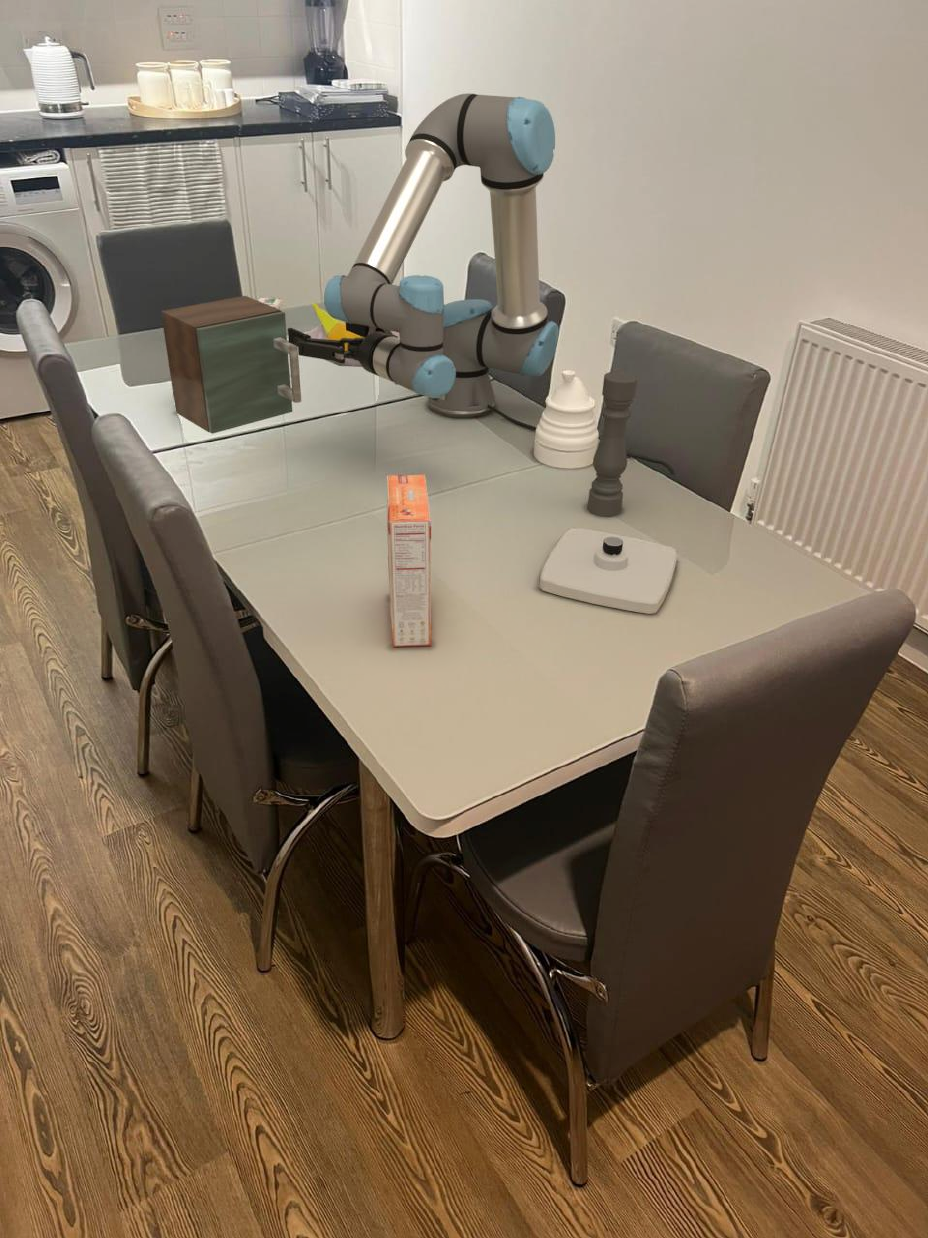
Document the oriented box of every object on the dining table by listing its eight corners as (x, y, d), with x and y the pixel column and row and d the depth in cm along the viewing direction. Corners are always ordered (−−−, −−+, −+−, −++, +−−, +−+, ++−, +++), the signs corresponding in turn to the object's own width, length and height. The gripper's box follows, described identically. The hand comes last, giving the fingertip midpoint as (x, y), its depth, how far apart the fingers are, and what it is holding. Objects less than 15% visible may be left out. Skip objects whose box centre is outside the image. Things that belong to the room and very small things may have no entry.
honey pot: (579, 474, 185) (588, 385, 175) (522, 458, 190) (528, 371, 180) (606, 452, 194) (617, 367, 184) (551, 437, 199) (558, 354, 189)
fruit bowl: (431, 364, 236) (431, 319, 229) (335, 383, 222) (333, 336, 216) (375, 335, 254) (374, 292, 248) (284, 350, 241) (281, 306, 235)
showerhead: (532, 591, 148) (658, 619, 142) (535, 557, 144) (664, 584, 139) (565, 535, 164) (680, 558, 158) (569, 503, 160) (686, 526, 155)
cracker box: (388, 596, 145) (385, 472, 134) (426, 595, 146) (427, 472, 134) (389, 648, 134) (387, 519, 122) (431, 647, 134) (433, 518, 123)
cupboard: (289, 410, 208) (281, 310, 195) (208, 432, 196) (195, 327, 184) (254, 392, 216) (245, 295, 204) (175, 412, 204) (160, 310, 192)
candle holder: (623, 504, 174) (642, 373, 160) (617, 519, 169) (635, 385, 155) (591, 498, 176) (606, 368, 162) (583, 513, 171) (599, 380, 157)
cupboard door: (310, 421, 202) (304, 320, 190) (229, 444, 191) (217, 338, 179) (289, 410, 207) (281, 311, 195) (209, 432, 196) (195, 328, 184)
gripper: (331, 391, 165) (266, 359, 178) (438, 363, 180) (370, 336, 192) (330, 349, 161) (262, 320, 174) (438, 324, 175) (369, 299, 188)
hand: (319, 328), depth 183 cm, fingers open, 13 cm apart
